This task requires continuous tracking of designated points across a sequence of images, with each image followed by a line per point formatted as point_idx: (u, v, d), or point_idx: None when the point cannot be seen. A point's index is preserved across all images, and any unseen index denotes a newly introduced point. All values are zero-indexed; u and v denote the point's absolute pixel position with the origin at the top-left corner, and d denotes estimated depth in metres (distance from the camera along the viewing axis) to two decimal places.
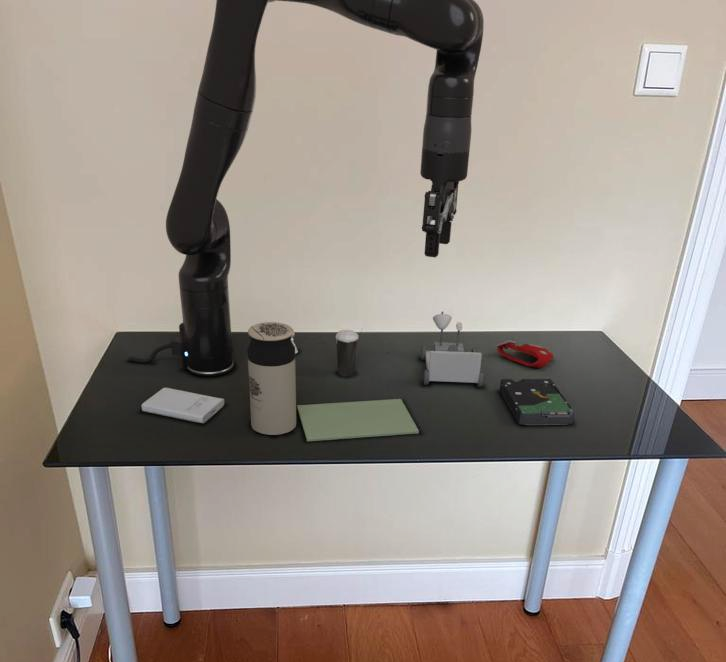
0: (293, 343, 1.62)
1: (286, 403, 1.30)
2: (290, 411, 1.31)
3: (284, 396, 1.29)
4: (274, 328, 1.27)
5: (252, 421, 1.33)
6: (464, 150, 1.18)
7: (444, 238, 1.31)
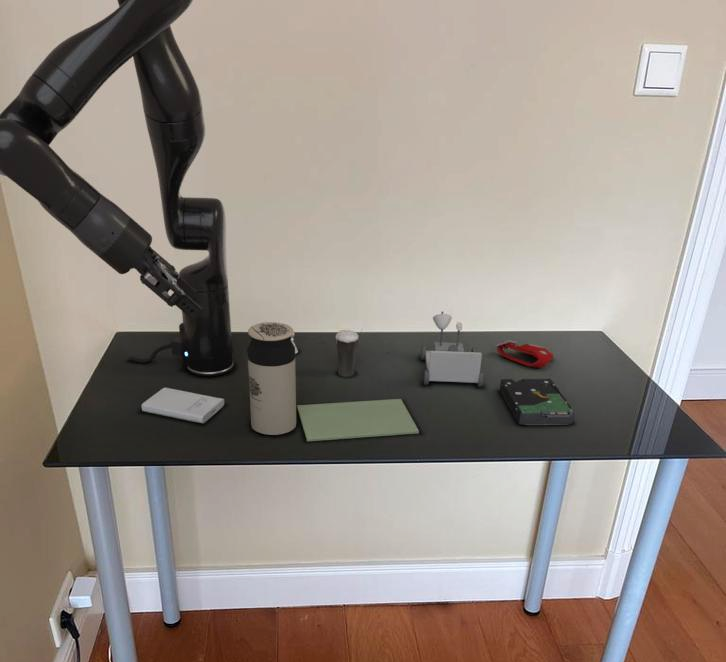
0: (293, 343, 1.62)
1: (286, 403, 1.30)
2: (290, 411, 1.31)
3: (284, 396, 1.29)
4: (274, 328, 1.27)
5: (252, 421, 1.33)
6: None
7: None
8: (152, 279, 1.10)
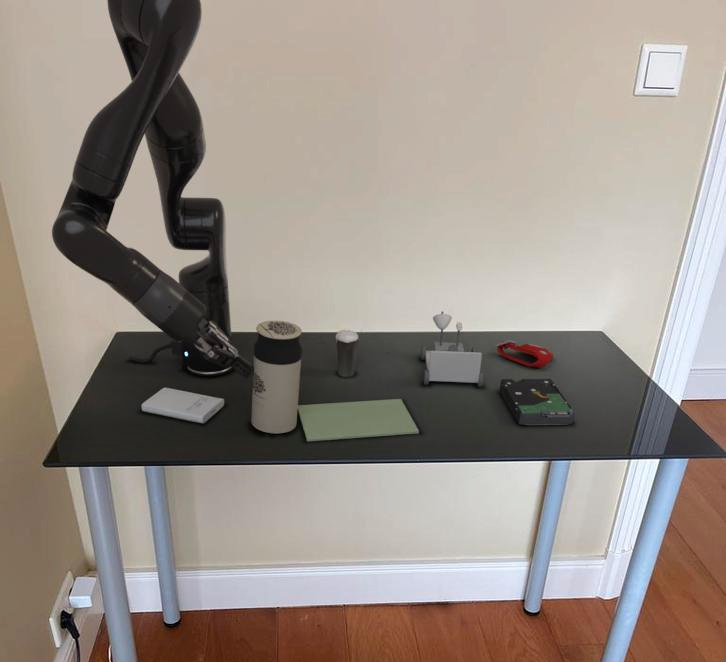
0: None
1: (289, 402, 1.30)
2: (292, 410, 1.31)
3: (287, 395, 1.29)
4: (282, 326, 1.27)
5: (253, 418, 1.33)
6: None
7: None
8: (216, 356, 1.20)
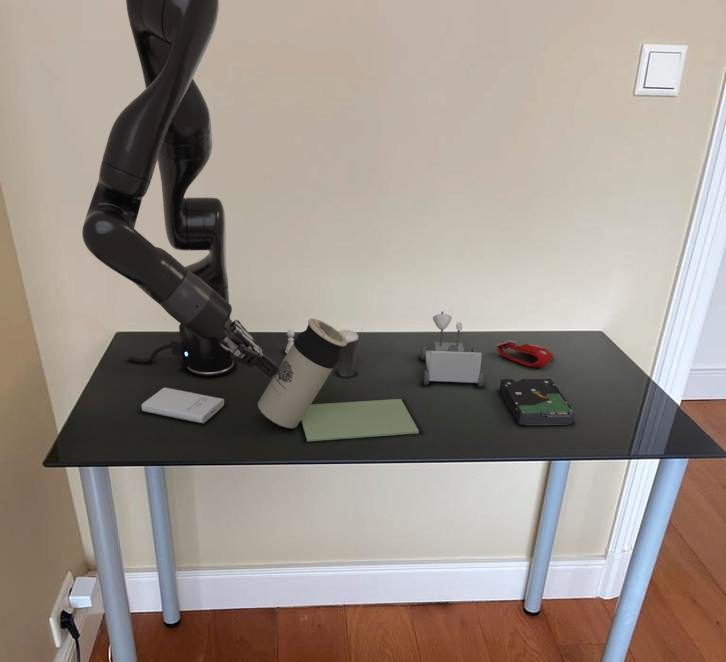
0: None
1: (305, 402, 1.30)
2: (303, 410, 1.32)
3: (308, 395, 1.29)
4: (331, 331, 1.28)
5: (263, 402, 1.31)
6: None
7: None
8: (242, 355, 1.21)
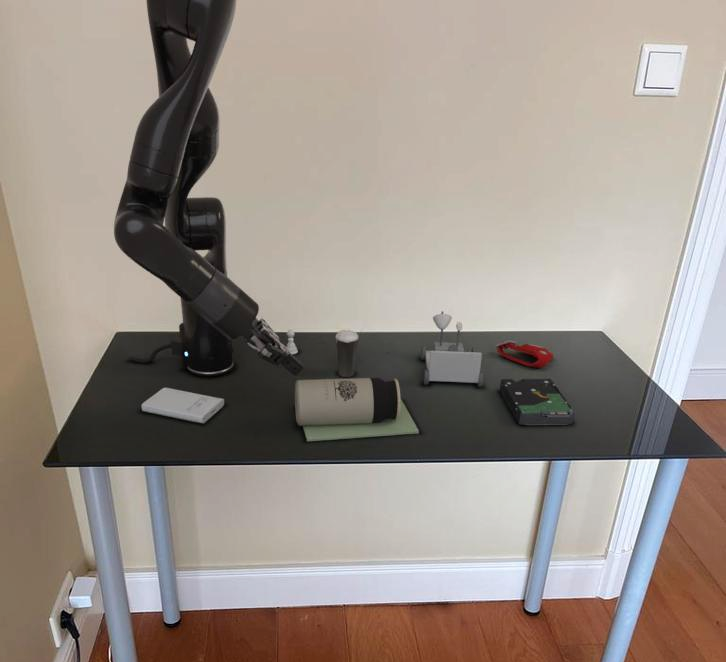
0: (293, 343, 1.62)
1: (331, 422, 1.33)
2: (321, 424, 1.34)
3: (340, 420, 1.33)
4: None
5: (307, 387, 1.31)
6: None
7: None
8: (269, 354, 1.22)
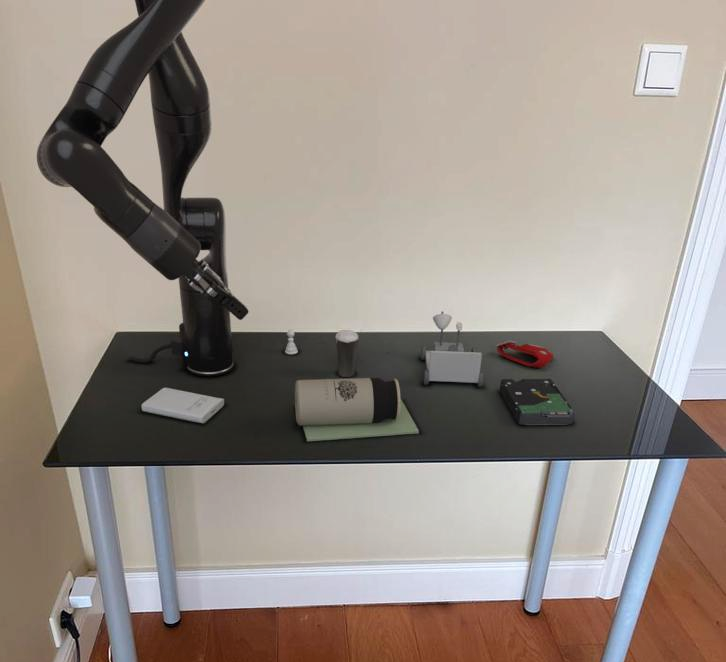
0: (293, 343, 1.62)
1: (331, 422, 1.33)
2: (321, 424, 1.34)
3: (340, 420, 1.33)
4: None
5: (307, 387, 1.31)
6: None
7: None
8: (215, 293, 1.16)
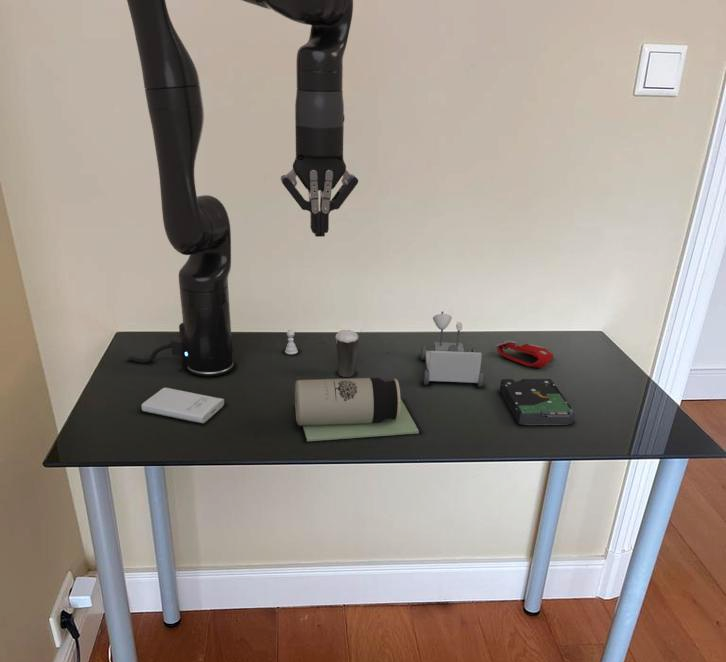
0: (293, 343, 1.62)
1: (331, 422, 1.33)
2: (321, 424, 1.34)
3: (340, 420, 1.33)
4: None
5: (307, 387, 1.31)
6: (312, 125, 1.15)
7: None
8: None
